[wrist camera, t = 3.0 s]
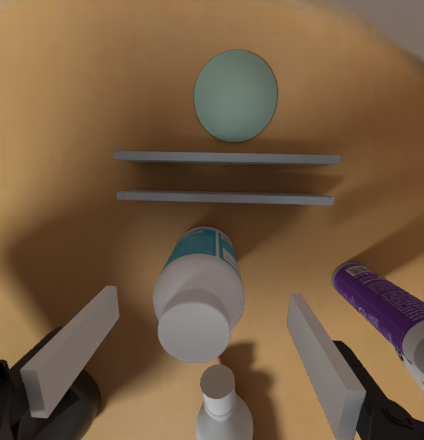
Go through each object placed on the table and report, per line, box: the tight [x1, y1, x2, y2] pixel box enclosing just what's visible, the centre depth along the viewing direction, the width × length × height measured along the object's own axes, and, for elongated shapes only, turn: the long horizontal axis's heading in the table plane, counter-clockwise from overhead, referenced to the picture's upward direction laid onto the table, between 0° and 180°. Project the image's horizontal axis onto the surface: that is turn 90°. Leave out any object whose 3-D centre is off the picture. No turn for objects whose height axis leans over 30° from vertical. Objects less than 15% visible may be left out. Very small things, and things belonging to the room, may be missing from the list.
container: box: [332, 262, 424, 374], centre depth 18 cm, size 5×5×15 cm
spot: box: [194, 50, 277, 142], centre depth 21 cm, size 9×9×1 cm
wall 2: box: [116, 189, 334, 205], centre depth 22 cm, size 22×1×4 cm, turn 89°
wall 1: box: [113, 151, 341, 166], centre depth 21 cm, size 22×1×4 cm, turn 89°
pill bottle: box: [153, 226, 245, 363], centre depth 19 cm, size 8×7×14 cm
